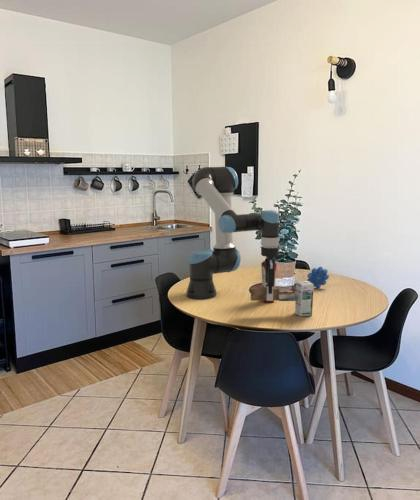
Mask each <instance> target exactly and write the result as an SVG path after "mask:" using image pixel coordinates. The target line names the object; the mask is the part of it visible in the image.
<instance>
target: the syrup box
mask: <svg viewBox="0 0 420 500" xmlns="http://www.w3.org/2000/svg"><path fill="white" fill-rule="evenodd" d="M314 288H315V287H314V284H313V283H311V282H309V281H307V280H305V281H296V282H295V295H296V296H297V298H298V301H294V304H295V306H294V313H295V314H296V315H298V316H299V317H309V316H313V307H314V306H313V305H314V304H313V303H314Z"/></svg>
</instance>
